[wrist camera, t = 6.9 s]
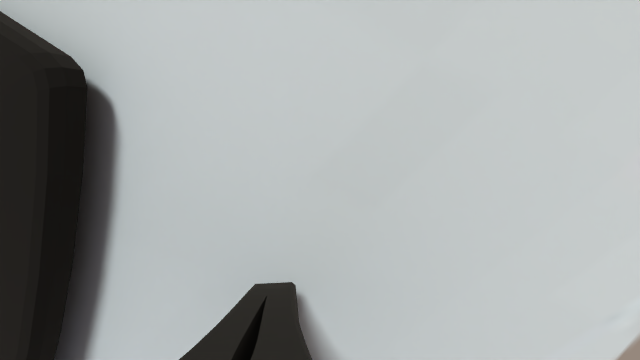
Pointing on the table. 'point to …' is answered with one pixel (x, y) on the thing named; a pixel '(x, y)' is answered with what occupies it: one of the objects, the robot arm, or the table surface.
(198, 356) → the robot arm
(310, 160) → the table surface
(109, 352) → the table surface
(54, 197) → the light switch
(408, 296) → the table surface
